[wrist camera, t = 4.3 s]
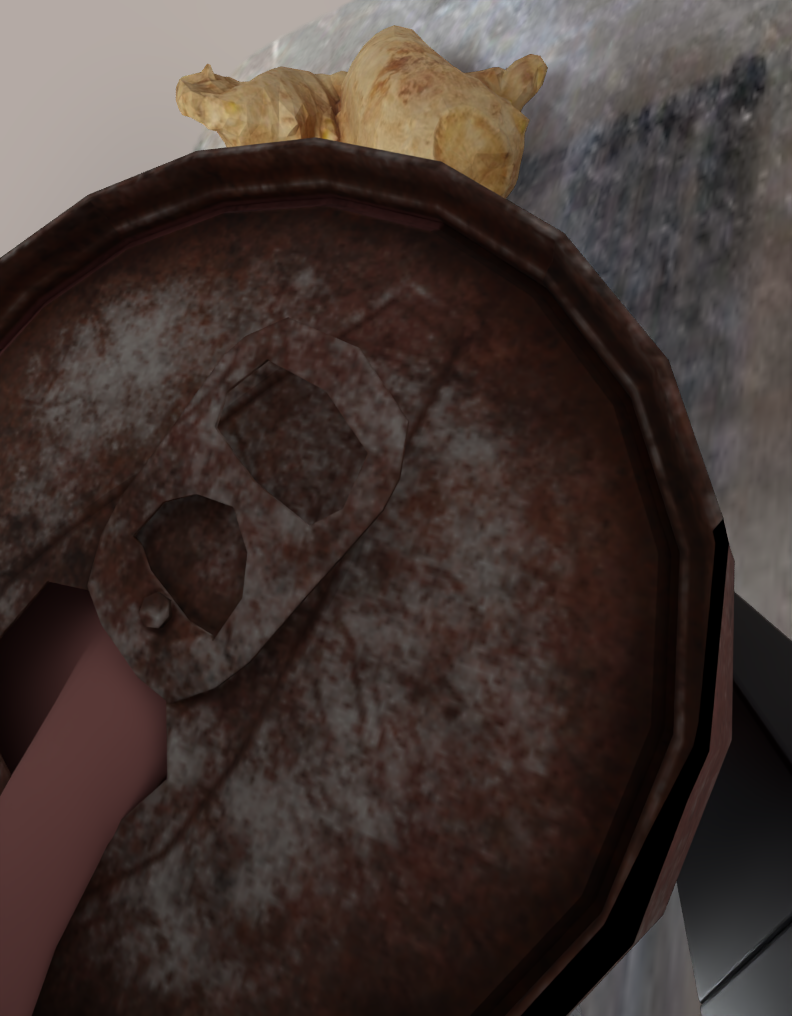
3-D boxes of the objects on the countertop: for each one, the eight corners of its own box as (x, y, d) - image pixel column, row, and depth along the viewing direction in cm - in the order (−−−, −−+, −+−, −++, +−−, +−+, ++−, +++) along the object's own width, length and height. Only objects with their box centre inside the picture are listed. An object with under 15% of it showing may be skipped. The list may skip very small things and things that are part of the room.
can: (351, 689, 16) (-453, 1079, 3) (382, 503, 17) (-84, 123, 4) (542, 731, 14) (873, 2165, 1) (562, 523, 16) (856, -8, 2)
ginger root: (680, 120, 16) (759, -219, 9) (471, 543, 19) (391, 566, 11) (315, 58, 21) (166, -184, 14) (191, 395, 24) (11, 344, 16)
